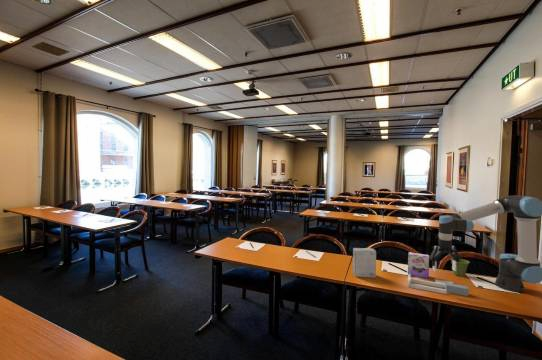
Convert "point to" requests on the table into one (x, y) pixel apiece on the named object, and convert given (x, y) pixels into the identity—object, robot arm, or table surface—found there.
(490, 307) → the table surface
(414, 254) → the candy box
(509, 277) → the robot arm
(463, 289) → the blank
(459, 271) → the plant pot
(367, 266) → the hard drive box
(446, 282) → the mat
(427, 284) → the shelf bay
